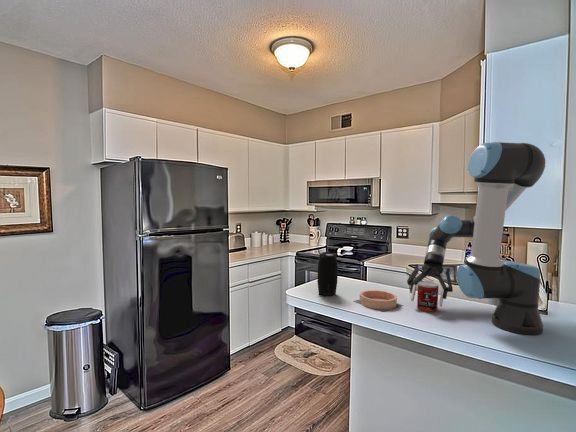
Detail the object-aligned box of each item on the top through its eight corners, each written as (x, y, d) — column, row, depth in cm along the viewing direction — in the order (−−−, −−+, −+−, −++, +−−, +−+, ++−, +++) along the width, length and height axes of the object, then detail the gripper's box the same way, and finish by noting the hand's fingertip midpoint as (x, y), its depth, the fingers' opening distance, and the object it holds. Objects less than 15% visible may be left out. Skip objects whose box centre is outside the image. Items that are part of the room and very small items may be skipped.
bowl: (403, 304, 138) (404, 296, 138) (381, 311, 129) (381, 303, 129) (375, 295, 150) (375, 288, 150) (352, 301, 141) (353, 293, 141)
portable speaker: (320, 291, 158) (321, 251, 157) (339, 293, 154) (340, 252, 153) (314, 296, 150) (315, 253, 149) (334, 298, 146) (335, 255, 145)
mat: (404, 306, 138) (404, 305, 138) (383, 313, 129) (383, 312, 129) (373, 296, 150) (373, 295, 150) (352, 302, 142) (352, 301, 142)
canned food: (415, 311, 132) (417, 284, 131) (418, 305, 139) (419, 280, 138) (436, 314, 128) (437, 287, 128) (437, 308, 135) (439, 282, 135)
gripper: (464, 266, 139) (458, 312, 127) (408, 259, 152) (398, 301, 139) (463, 255, 134) (457, 303, 122) (406, 249, 147) (395, 292, 135)
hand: (426, 302), depth 131 cm, fingers open, 10 cm apart
